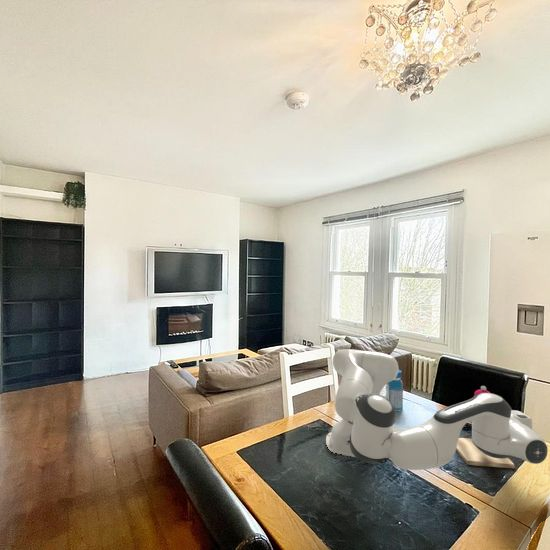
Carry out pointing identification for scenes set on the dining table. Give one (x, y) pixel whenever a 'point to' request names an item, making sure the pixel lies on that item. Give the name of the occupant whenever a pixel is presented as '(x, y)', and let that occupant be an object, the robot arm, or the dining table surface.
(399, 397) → the beverage bottle
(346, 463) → the dining table surface
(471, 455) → the oak board
